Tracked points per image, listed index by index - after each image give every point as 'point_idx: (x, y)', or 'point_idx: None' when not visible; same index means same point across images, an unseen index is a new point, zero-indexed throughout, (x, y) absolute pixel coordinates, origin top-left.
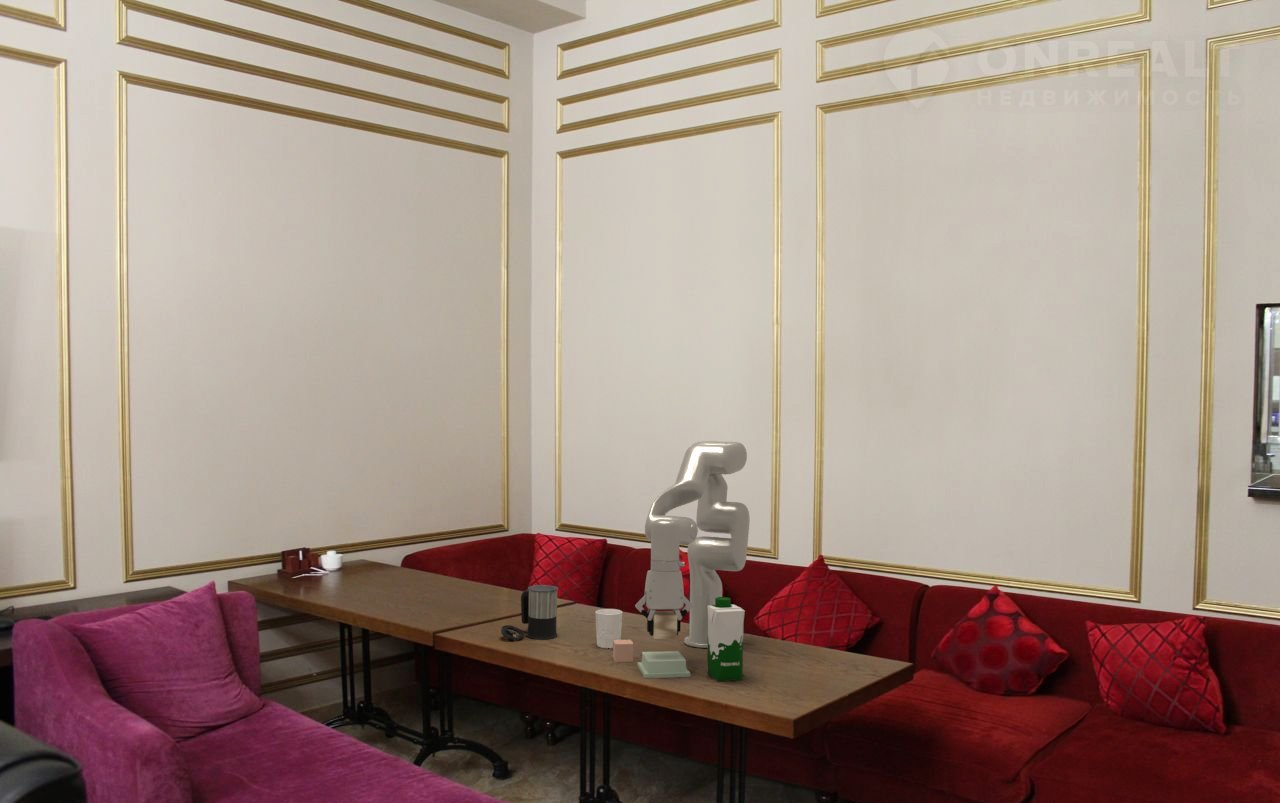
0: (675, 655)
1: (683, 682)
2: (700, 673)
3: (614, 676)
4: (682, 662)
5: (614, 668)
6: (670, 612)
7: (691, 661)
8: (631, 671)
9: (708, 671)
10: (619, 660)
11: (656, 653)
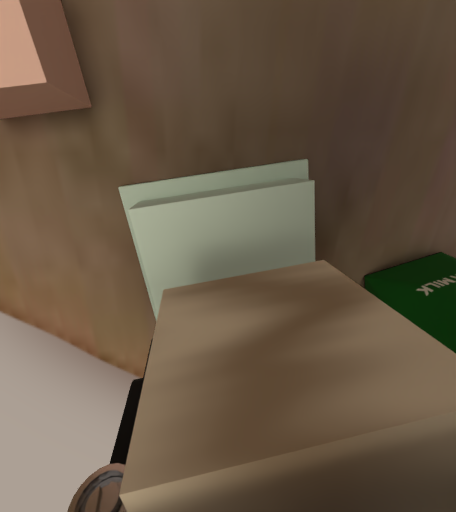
0: (287, 263)
1: None
2: (344, 269)
3: (57, 328)
4: None
5: (28, 228)
6: (437, 483)
7: (353, 97)
8: (108, 265)
9: (370, 290)
10: (17, 114)
11: (204, 235)
